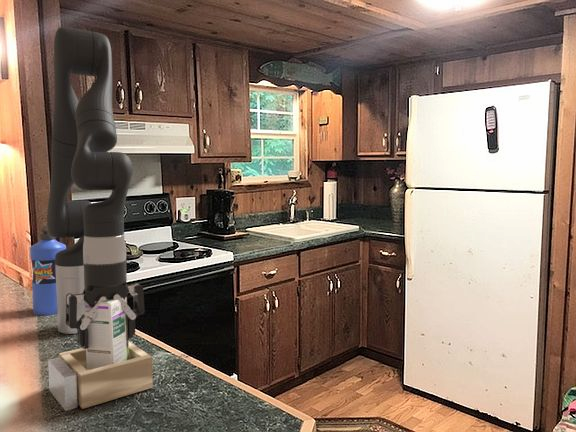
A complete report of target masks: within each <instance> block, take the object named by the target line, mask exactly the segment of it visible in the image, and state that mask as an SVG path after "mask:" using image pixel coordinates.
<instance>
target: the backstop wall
mask: <svg viewBox="0 0 576 432" xmlns="http://www.w3.org/2000/svg"><path fill="white" fill-rule="evenodd" d="M47 364H48V365H47V366H48V385H49V388H48V390H49V392H50V393H51V394H52V396H53V397H54V399H56V401H57V402H58V404H59V405H60V406H61V407H62V408H63V410H64V412H66V411H67V412H68V411H70V410H73V409H74V410H75V409H77V408H79V407H78V406H79V405H78V403H77V376H76V374H75V372H74V371H73V370H72V369H71V368H70V367H69V366H68V365H67V364H66V363H65V362H64V361H63V360H62V359H61V358H60V357H59V356H58V357H55V358H49V359H48V361H47Z"/></svg>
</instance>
